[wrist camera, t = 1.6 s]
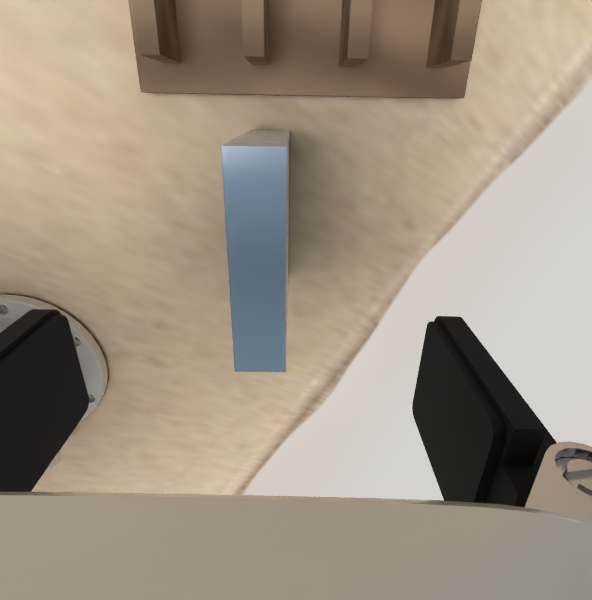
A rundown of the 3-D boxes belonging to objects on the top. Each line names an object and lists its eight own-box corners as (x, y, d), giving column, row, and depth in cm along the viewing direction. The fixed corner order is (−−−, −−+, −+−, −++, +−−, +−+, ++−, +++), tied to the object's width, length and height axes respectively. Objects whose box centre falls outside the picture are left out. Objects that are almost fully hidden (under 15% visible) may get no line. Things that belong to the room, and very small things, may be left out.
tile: (288, 276, 30) (285, 371, 19) (256, 275, 30) (234, 371, 19) (289, 130, 25) (286, 146, 15) (251, 130, 25) (221, 145, 15)
